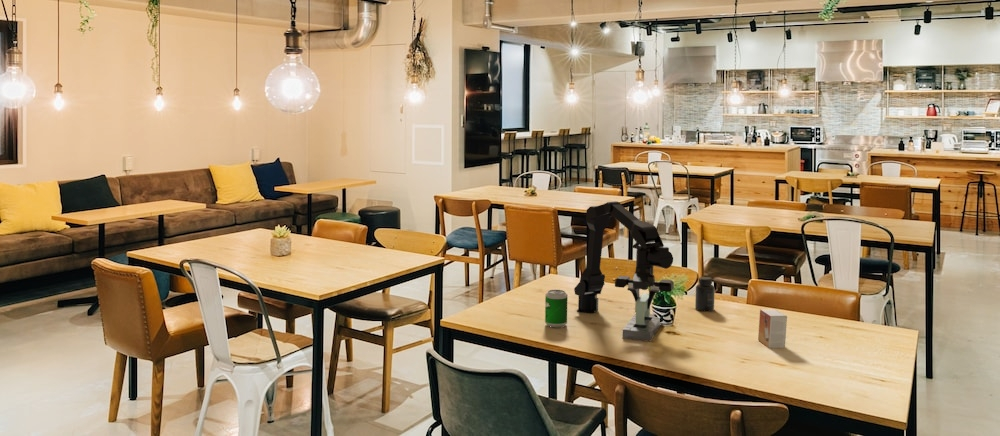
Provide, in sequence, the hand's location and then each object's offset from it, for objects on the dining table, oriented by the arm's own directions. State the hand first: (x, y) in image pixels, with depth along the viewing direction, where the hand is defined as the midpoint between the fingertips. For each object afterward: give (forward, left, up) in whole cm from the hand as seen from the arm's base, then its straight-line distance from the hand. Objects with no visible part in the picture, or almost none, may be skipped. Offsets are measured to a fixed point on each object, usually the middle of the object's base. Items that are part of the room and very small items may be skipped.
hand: (643, 308), depth 260 cm
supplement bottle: (+16, +36, -8) cm, 40 cm away
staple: (0, 0, -4) cm, 4 cm away
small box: (+41, +1, -8) cm, 42 cm away
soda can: (-29, -5, -8) cm, 30 cm away
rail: (0, 0, -8) cm, 8 cm away
